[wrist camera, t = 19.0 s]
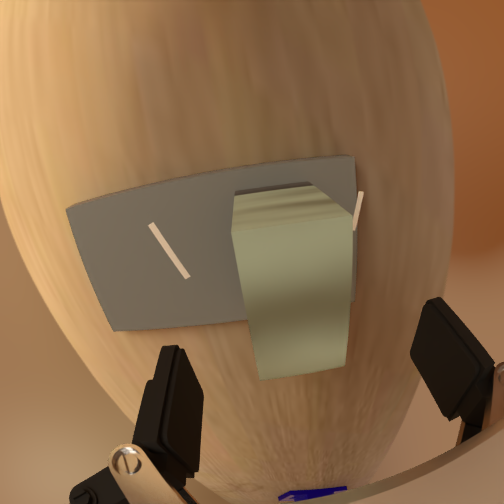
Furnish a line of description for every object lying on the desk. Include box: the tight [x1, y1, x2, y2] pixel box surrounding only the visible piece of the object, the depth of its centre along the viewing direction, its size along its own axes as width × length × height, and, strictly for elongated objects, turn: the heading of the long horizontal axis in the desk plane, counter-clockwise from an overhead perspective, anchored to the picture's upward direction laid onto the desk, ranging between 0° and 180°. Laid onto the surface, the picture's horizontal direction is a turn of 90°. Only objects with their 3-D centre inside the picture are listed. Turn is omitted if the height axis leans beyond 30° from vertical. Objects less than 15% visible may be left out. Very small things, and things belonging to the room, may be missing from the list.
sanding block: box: [231, 181, 353, 381], centre depth 16 cm, size 9×5×8 cm, turn 8°
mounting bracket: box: [278, 486, 347, 502], centre depth 50 cm, size 18×7×6 cm, turn 69°
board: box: [66, 155, 364, 331], centre depth 21 cm, size 12×23×2 cm, turn 98°
